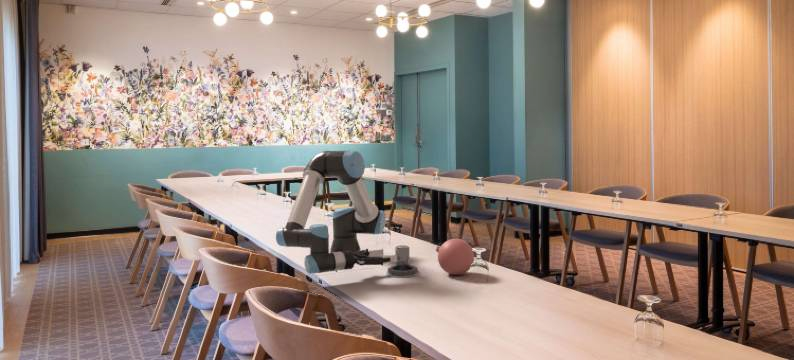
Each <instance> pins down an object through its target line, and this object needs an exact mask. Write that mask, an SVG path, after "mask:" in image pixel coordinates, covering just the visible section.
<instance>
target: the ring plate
mask: <svg viewBox="0 0 794 360" xmlns="http://www.w3.org/2000/svg"><path fill="white" fill-rule="evenodd" d="M386 275H387V276H388V277H391V278H398V279H399V278H413V277H417V276H418V275H420V272H419V270H418V267H416V266H415V265H414V264H413V265H411V264H410V270H406V271H399V270H396V264H395V265H391V266H389V267H388V268H387V272H386Z"/></svg>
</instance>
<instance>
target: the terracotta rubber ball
mask: <svg viewBox="0 0 794 360" xmlns="http://www.w3.org/2000/svg"><path fill="white" fill-rule="evenodd" d="M472 249H473V247H472V245H470V244H469V242H467V241H466V240H464V239H460V238H451V239H448V240H446V241H445V242H443V243H442V244H441V245H437V246H436V249H435V251H436V253H437V261H438V264H439V266H440V268H441V269H442V270H443V271H444V272H446V274H449V275H452V276H460V275H465V273H467V272H469V270H470V269H471V268H472V267H471V264H472V263H473V264H474V261H475V253H474V250H473V251H471V250H472ZM470 267H471V268H470Z"/></svg>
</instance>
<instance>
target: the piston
mask: <svg viewBox="0 0 794 360" xmlns="http://www.w3.org/2000/svg"><path fill="white" fill-rule="evenodd" d="M394 249H395V252H394V253H395V254H394V255H397V262H395V265H396V270H399V271H406V270H410V265H411V264H410V246H408V245H404V244H402V245H397V246H395V248H394Z"/></svg>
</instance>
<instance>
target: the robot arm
mask: <svg viewBox="0 0 794 360" xmlns="http://www.w3.org/2000/svg"><path fill="white" fill-rule="evenodd" d="M365 167H366V165H365V159H364V156H363V155H362V154H361V153H360V152H359V151H355V150H351V149H350V150H324V151H321V152H319V153H317V154H315V155H314V156H313V157H312V158H311V159H310V160H309V162H308V163H307V164H306V165H305V167H304V170H303V172H302V178H303V179H302V181H301V184H300V188H299V189H298V192H297V194H296V198H295V201H294V203H293V205H292V208H291V212H290V214H289V216H288V220H287V222H286V224H285V226H284V227H280V228H278V229H277V230H276V232H275V241H276V243H277V245H278V246H279V247H286V248H290V247H291V248H303V249H304V248H305V249H307V248H309V250H310V252H309V254H307V255H306V256H305V257H304V268H305V271H306V272H307V274H321V273H328V272H336V273H337V272H338V271H343V270H352V269H353V268H354V266H355V264H356V265H359V266H384V264H388V263H396V262H397V255H395V254H393V255H384V248H379V249H372V250H371V249H370V250H369V248H365V249H361V246H360V242H359V240H358V238H357V237H358V235H357V234H359V235H360V234H363V235H374V236H375V235H382V233H383V232H384V229H385V226H386V218H387V217H386V211H384V210H379V208H378V206H377V205H376V204H375V203H373V201H372V199H371V198H370V195H369V192H368V190H367V187H366V184H365V183H364V181H363V178H362V177H363V175H364V173H365ZM326 178H336V179H337V180H338V181H337V182H339V184H340V185H343V186H344V188H345V191H346V192H347V194H348V197H349V199H350V200H351V203H352V205H353V206H345V207H339V208H336V209H334V210H333V212H332V231H333V233H332V235H333V236H332V237H333V238H332V242H331V245H330V235H329V227H328V225H327V224H324V223H316V224H315V223H314V224H311V225H310V226H309V228H305V227H306V225H307V221H308V219H309V216H310V214H311V210H312V208H313V204H314V202H315V199H316V196H317V193H318V190H319V187H320V186H321V184H323V183H324V182H325V179H326Z"/></svg>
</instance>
